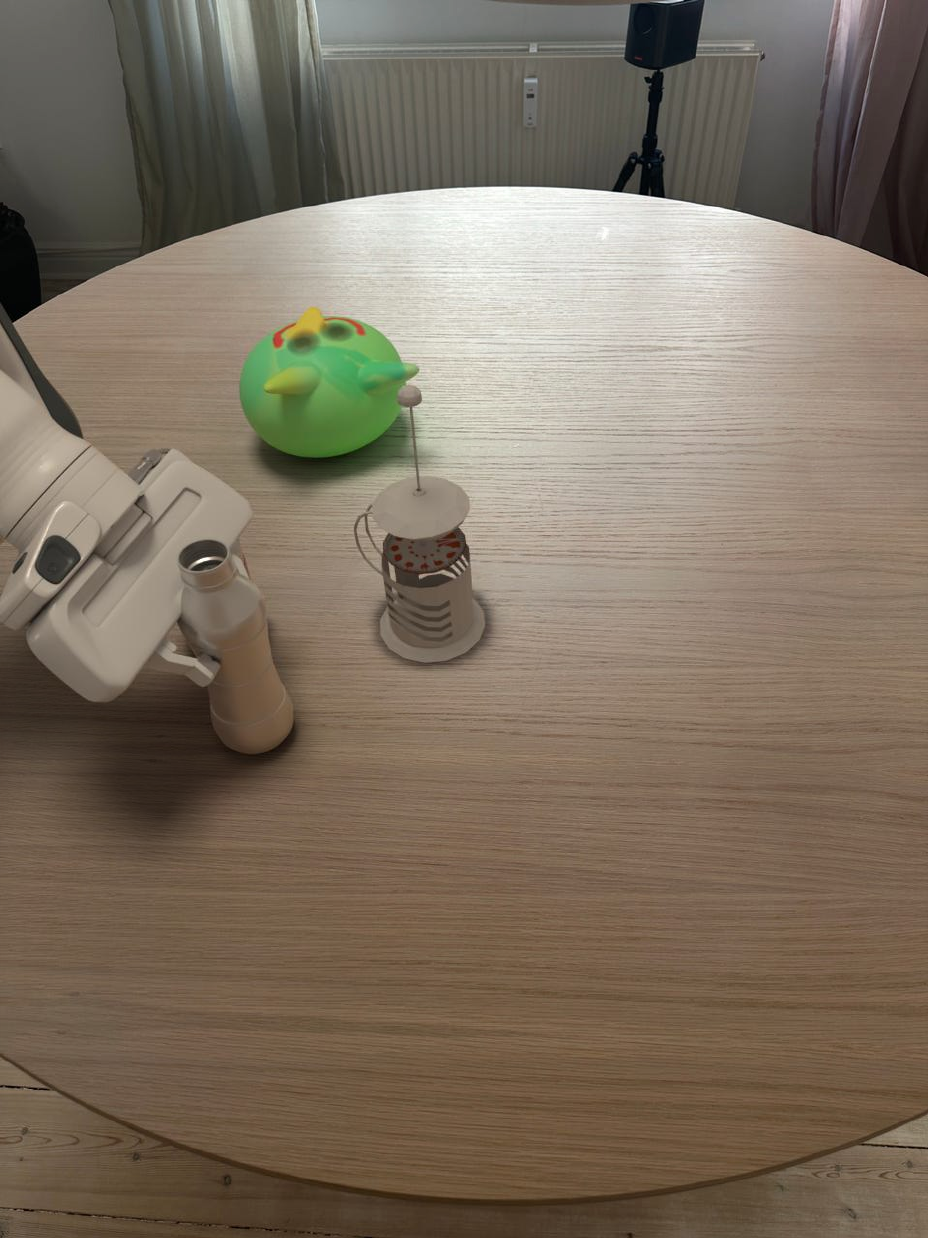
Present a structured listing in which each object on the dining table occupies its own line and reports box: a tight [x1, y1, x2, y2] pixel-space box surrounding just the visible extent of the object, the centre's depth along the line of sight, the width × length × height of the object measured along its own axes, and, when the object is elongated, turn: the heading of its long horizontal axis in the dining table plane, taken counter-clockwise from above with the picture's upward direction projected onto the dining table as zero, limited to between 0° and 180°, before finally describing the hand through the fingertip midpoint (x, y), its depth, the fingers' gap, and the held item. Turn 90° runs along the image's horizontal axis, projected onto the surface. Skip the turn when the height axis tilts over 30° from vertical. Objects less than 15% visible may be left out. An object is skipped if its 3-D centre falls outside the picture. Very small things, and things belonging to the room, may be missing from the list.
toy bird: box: [238, 306, 420, 459], centre depth 106 cm, size 18×17×15 cm
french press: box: [353, 384, 486, 664], centre depth 82 cm, size 10×12×25 cm
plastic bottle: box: [176, 539, 294, 755], centre depth 75 cm, size 6×7×20 cm
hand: (236, 642), depth 74 cm, fingers closed on plastic bottle, 6 cm apart
